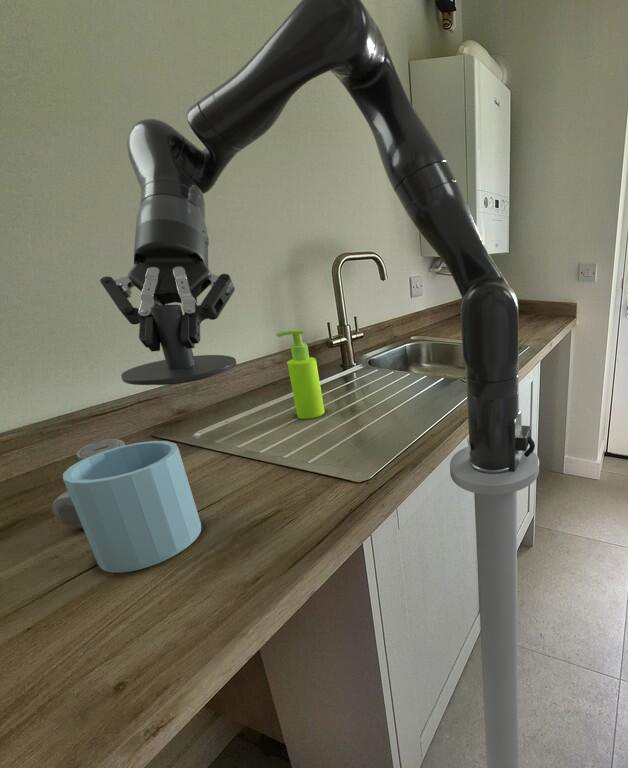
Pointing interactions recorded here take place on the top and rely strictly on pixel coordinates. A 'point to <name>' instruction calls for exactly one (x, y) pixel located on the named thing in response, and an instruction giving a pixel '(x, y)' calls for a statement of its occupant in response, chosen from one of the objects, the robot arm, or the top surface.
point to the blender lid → (175, 355)
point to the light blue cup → (134, 504)
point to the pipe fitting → (63, 503)
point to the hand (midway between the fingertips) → (170, 345)
